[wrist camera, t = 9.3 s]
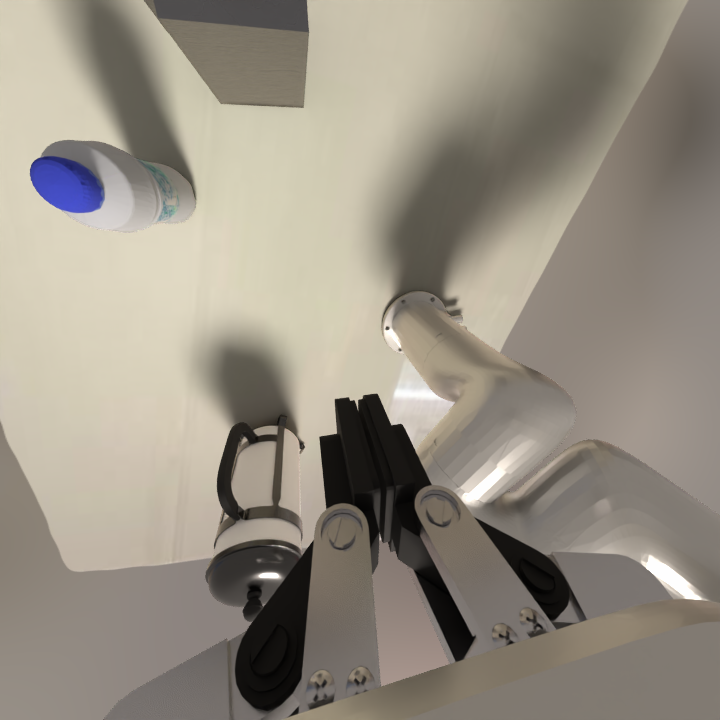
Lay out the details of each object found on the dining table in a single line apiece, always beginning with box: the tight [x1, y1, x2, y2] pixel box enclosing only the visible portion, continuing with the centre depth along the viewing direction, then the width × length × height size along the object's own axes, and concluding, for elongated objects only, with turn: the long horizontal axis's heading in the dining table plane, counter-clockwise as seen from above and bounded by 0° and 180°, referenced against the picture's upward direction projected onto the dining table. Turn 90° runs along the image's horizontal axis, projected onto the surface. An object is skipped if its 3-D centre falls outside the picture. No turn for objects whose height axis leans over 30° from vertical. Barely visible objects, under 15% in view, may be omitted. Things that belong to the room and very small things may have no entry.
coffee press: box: [205, 415, 305, 622], centre depth 45 cm, size 17×16×30 cm
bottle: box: [30, 140, 196, 233], centre depth 26 cm, size 7×7×20 cm
